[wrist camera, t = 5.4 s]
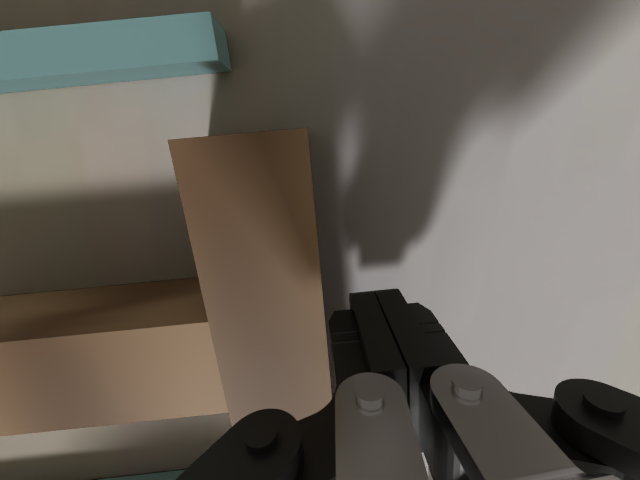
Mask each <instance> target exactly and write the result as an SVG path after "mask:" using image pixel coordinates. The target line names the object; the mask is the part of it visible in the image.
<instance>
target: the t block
mask: <svg viewBox="0 0 640 480" xmlns="http://www.w3.org/2000/svg"><path fill="white" fill-rule="evenodd" d="M168 144H169V148H170V153H171V157H172V162H173V166H174V171H175V175H176V180H177V184H178V189H179V193H180V197H181V202H182V206H183V211H184V215H185V220H186V224H187V229H188V233H189V238H190V242H191V247H192V251H193V256H194V260H195V265H196V269H197V274H198V278H188V279H177V280H167V281H156V282H146V283H136V284H125V285H115V286H104V287H94V288H83V289H73V290H63V291H52V292H42V293H31V294H21V295H10V296H0V436H8V435H17V434H27V433H37V432H46V431H56V430H66V429H75V428H85V427H95V426H104V425H114V424H124V423H133V422H143V421H153V420H162V419H172V418H182V417H191V416H201V415H211V414H220V413H229V418H230V422H231V427H232V426H234V425H235V424H236V423H237V422H238V421H239V420H240V419H242V418H243V417H245V416H246V415H248V414H250V413H252V412H255V411H258V410H262V409H270V408H273V409H280V410H284V411H286V412H288V413H289V414H291V415H292V416H293V417H294V418H295V419H296V420H297V421H298V420H301V419H303V418H305V417H308V416H310V415H313V414H315V413H317V412H318V411H320V410H321V409H323V408H324V407H325V406H326V405H327V404H328V403H329V402H330V401H331V399H332V392H331V381H330V370H329V359H328V348H327V337H326V326H325V315H324V304H323V293H322V282H321V271H320V260H319V249H318V238H317V227H316V216H315V205H314V194H313V183H312V172H311V161H310V150H309V139H308V128H296V129H285V130H274V131H262V132H251V133H240V134H228V135H217V136H206V137H194V138H183V139H172V140H168Z"/></svg>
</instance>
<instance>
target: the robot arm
mask: <svg viewBox="0 0 640 480" xmlns="http://www.w3.org/2000/svg"><path fill="white" fill-rule="evenodd" d="M349 302H350V309H349V310H339V311H334V313H333V315H332V316H331V318H330V320H329V328H330V339H331V350H332V361H333V370H334V379H335V388H336V390H335V393H334V396H333V398H332V399H331V401H330V402H329V403H328V404H327V405H326V406H325V407H324V408H323V409H321V410H320V411H318V412H317V413H315V414H313V415H310V416H308V417H305V418H303V419H301V420H298V421H297V420H296V419H295V418H294V417H293V416H292V415H291V414H289V413H288V412H286V411H284V410H280V409H273V408H270V409H262V410H258V411H255V412H252V413H250V414H248V415H246V416H245V417H243V418H242V419H240V420H239V421H238V422H237V423H236V424H235V425H234V426H232V427H231V428H230V429H229V430H228V431H227V432H226V433H225V434H224V435H223V436H222V437H221V438H220V439H219V440H217V441H216V442H215V443H214V444H213V445H212V446H211V447H210V448H209V449H208V450H207V451H206V452H205V453H204V454H202V455H201V456H200V457H199V458H198V459H197V460H196V461H195V462H194V463H193V464H192V465H191V466H190V467H188V468H187V469H186V470H185V471H184V472H183V473H182V474H181V475H180V476H179V477H178V478H177V479H176V480H640V397H638V396H636V395H633V394H631V393H628V392H625V391H623V390H620V389H618V388H615V387H613V386H610V385H607V384H604V383H601V382H597V381H593V380H588V379H568V380H565V381H562V382H561V383H559V384H558V385H557V386H556V388H555V392H554V398H546V397H539V396H532V395H525V394H519V393H513V392H510V391H508V390H507V389H506V388H505V387H504V386H503V385H502V384H501V383H500V381H498V380H497V379H496V378H495V377H494V376H493V375H491V374H490V373H488V372H486V371H485V370H482V369H480V368H478V367H475V366H471V365H469V364H468V362H467V361H466V359H465V358H464V357H463V355H462V354H461V352H460V351H459V350H458V348H457V347H456V345H455V344H454V343H453V341H452V340H451V338H450V337H449V336H448V334H447V333H445V330H444V329H443V327H442V326H441V324H439V323H438V320H437V319H436V317H435V316H434V315H433V313H432V312H431V311H430V310H429V309H427V308H425V307H424V306H422V305H421V304H419V303H409V304H407V302H406V301H405V299H404V297H403V296H402V294H401V292H400V291H399V289H387V290H377V291H374V292H373V291H368V292H358V293H350V294H349ZM421 452H424V455H425V458H426V460H427V463H428V466H429V467H428V475H427V471H426V467H425V464H424V460H423V457H422V453H421Z"/></svg>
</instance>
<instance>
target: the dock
mask: <svg viewBox="0 0 640 480" xmlns="http://www.w3.org/2000/svg"><path fill="white" fill-rule="evenodd" d="M229 71H232V70H231V64H230V58H229V51H228V45H227V39H226V33H225V30H224V29H223V28H222V26H221V25H220V24H219V22H218V21H217V20H216V18H215V17H214V16H213V14H212V13H211V12H210V11H207V12H196V13H186V14H175V15H164V16H154V17H143V18H132V19H121V20H111V21H100V22H89V23H79V24H68V25H57V26H47V27H36V28H25V29H14V30H4V31H0V94H1V93H11V92H22V91H32V90H42V89H53V88H63V87H74V86H84V85H94V84H105V83H115V82H125V81H136V80H146V79H157V78H167V77H177V76H188V75H198V74H209V73H219V72H229ZM184 471H185V470H178V471H169V472H160V473H151V474H143V475H134V476H125V477H116V478H107V479H99V480H176V479H177V478H178V477H179V476H180V475H181V474H182V473H183V472H184Z"/></svg>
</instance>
